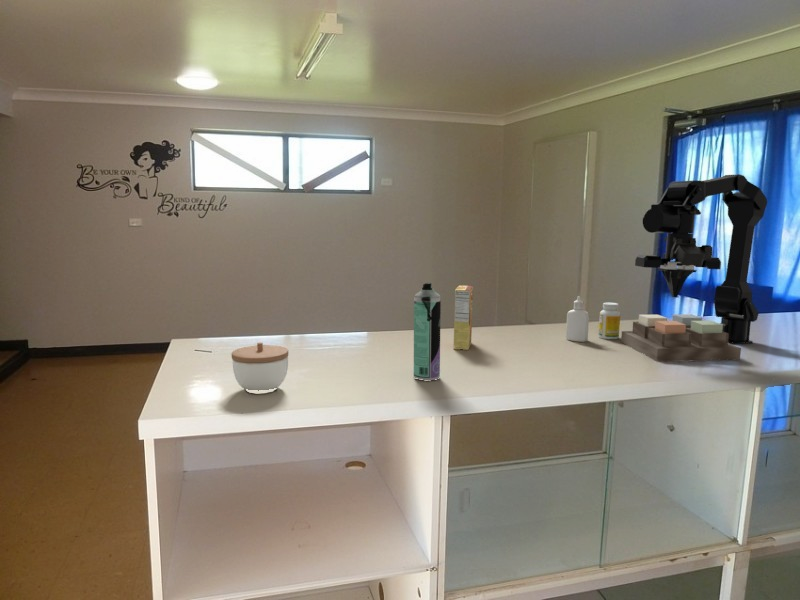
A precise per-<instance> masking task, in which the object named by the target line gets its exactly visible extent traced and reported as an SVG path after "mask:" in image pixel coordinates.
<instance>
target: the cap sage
mask: <svg viewBox="0 0 800 600" xmlns="http://www.w3.org/2000/svg"><path fill="white" fill-rule="evenodd" d="M720 323H721V322H720ZM720 323H719V322H716V321H713V320H702V321H691V330H694V331H696V332H699V333H722V329H723V324H720Z"/></svg>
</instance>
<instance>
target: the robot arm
mask: <svg viewBox="0 0 800 600" xmlns="http://www.w3.org/2000/svg"><path fill="white" fill-rule="evenodd" d="M733 191H735V192H733ZM720 194H722V201H723V202H724V204H725V205H726V206H727V217H728V219H729V220H730V222H731V225H732V231H731V237H730V238H731V239H730V243H729V244H730V246H729V252H728V259H727V265H726V266H727V267H726V274H725V279H724V281H723V282H722V283H721V285H716V287H715V288H714V289H715V292H714V298H713V306H714V310H715V312H714V313H715V317H716V318H720V320H721V321H720V324H723V329H722V331H723V332H726V333H728V334H729V336H728V343H729V344H754V343H753V342H754V341H752V340H750V332H751V323H753V322H756V321H757V320H758V318H759V313H760V312H759V310H758V309H757V307H756V305H755V304H754V302H753V292H752V289H751V287H750V285H749V284H748V275H749V268H750V263H751V255H752V247H753V240H754V234H755V227H756V226H757V224H758V223H759V222H760V221H761V220H762V219H763V217H764V216H765V211H766V207H767V205H768V199H767V197H766V195H765V194H764V192H763V191H762V189H761V188H760V187H759V186H757V185H755V184H754V183H752V182H750V181H748V179H747V178H746V176H745V175H742V174H741V173H740V174H725V175H722V176H719V177H713V178H710V179H705V180H697V179H696V180H676V181H671V182H669V183H668V187H667V188H666V189H665V191H664V193H663V194H662V196H661V198H660V199H659V201H658V203H651V205H650V208H649V209H648V210H647V211H646V212H645V214H644V215H643V217H642V226H643V228H644V230H645V231H646V232H648V233H652V234H666V236H665V237H664V239H663V240H664V242H666V244H665V253H662V257H661V255H654V254H638V255H637V256H636V258H635V261H634V266H636V267H641V268H649V269H650V268H651V269H652V268H653V269H654V268H655V269H656V268H657V271H661V273H662V276H663V277H664V280H665V282H666V284H667V288H668V290H669V293H670V296H671V297H672V298H678V296H679V294H680V292H681V290H682V287H683V286H684V284H685V282H686V281H687V279H688V277H690V275H692V274H693V273H697V271H698V270H697V269H695V268H706V269H708V270H721V267H722V261H721V259H720V258H719V257H716V256H713V250H714V249H713V246H712V245H709V244H708V245H707V244H702V245H701V246H697V238H696V237H694V233H695V231H694V230H695V219H696V216H700V215H701V214H702V212H701V210H700V209H699V208H697V206H696V205H698V204H700V203H703V202H704V201H705V200H706V198H707V197H711V196H715V195H720Z"/></svg>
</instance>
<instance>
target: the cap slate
mask: <svg viewBox="0 0 800 600" xmlns="http://www.w3.org/2000/svg"><path fill="white" fill-rule="evenodd" d="M671 321H677V322H680V323H682V324H685V325H686V326H691V321H703V317H701V316H698V315H695V314H691V313H690V314H689V313H688V314H685V313H684V314H683V313H682V314H672V319H671Z"/></svg>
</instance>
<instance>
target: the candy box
mask: <svg viewBox="0 0 800 600" xmlns="http://www.w3.org/2000/svg"><path fill="white" fill-rule="evenodd" d="M473 301H474V286H472V285H458V286H456V288H455V290H454V315H453V316H454V317H453V318H454V320H453V322H454V323H453V328H454V329H453V350H460V349H463V350H465V351H468V350H469V349H470V347H471V344H472V331H473V329H472V328H473V307H474V306H473V305H474V303H473Z"/></svg>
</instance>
